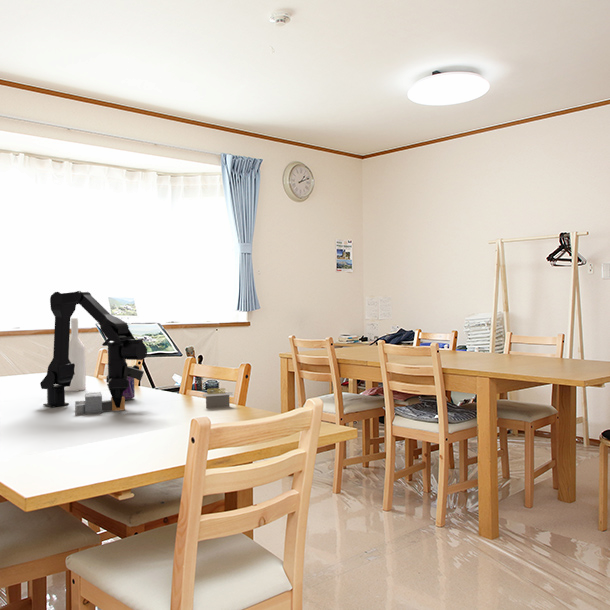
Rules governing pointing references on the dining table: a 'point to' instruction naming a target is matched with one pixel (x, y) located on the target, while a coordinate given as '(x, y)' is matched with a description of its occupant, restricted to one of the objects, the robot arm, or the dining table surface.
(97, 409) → the housing
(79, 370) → the bottle
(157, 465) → the dining table surface
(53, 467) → the dining table surface
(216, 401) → the platform
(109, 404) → the plug
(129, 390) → the beverage can
